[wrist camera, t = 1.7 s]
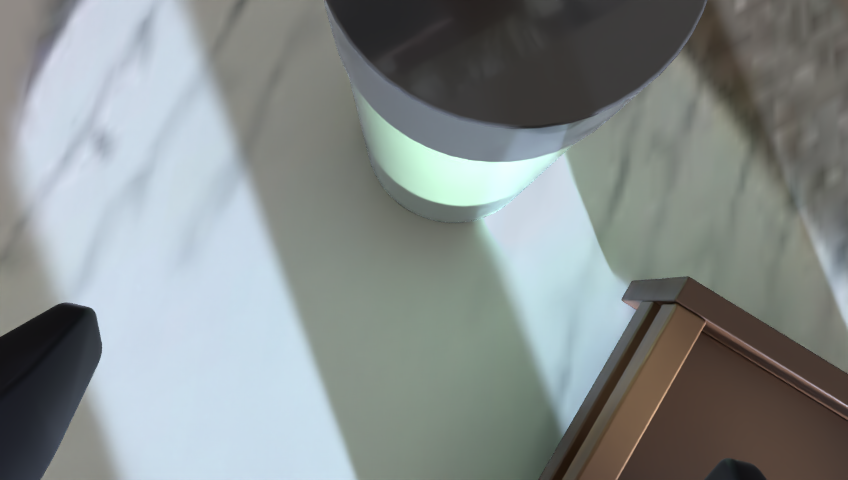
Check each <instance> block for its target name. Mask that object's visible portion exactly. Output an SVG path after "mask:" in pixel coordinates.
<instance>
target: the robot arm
mask: <svg viewBox="0 0 848 480" xmlns="http://www.w3.org/2000/svg"><path fill="white" fill-rule="evenodd" d="M101 353H102V342H101V337H100V332H99V327H98V322H97V317H96V313H95V312H94V310H93V309H92V308H89V307H85V306H81V305H77V304H73V303H61V304H58V305H56V306H54V307H52V308H51V309H49V310H47V311H45V312H44V313H42V314H40V315H38V316H37V317H35V318H33V319H31V320H30V321H28V322H26V323H24V324H22V325H21V326H19V327H17V328H15V329H14V330H12V331H10V332H8V333H7V334H5V335H3V336H1V337H0V480H40V479H41V478H42V476H43V474H44V473H45V471H46V469H47V467H48V466H49V464H50V462H51V461H52V459H53V457H54V455H55V453H56V451H57V449H58V447H59V445H60V443H61V441H62V439H63V437H64V434H65V432H66V430H67V428H68V426H69V424H70V422H71V420H72V418H73V416H74V413H75V411H76V409H77V407H78V405H79V403H80V401H81V399H82V397H83V394H84V392H85V390H86V388H87V386H88V384H89V382H90V380H91V378H92V376H93V373H94V371H95V369H96V367H97V365H98V363H99V360H100V357H101ZM704 480H767V479H766V478H765V476H764V475H763V473H762V472H761V471H760V470H759V469H758V468H757V467H756V466H755V465H753V464H751V463H748V462H744V461H740V460H736V459H731V458H725V459H723V460H721V461H720V462H719V463H718V464H717V465H716V466H715V468H714V469H713V470H712V471H711V472H710V473H709V474H708V476H707V477H706V478H705V479H704Z"/></svg>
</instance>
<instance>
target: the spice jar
mask: <svg viewBox="0 0 848 480" xmlns="http://www.w3.org/2000/svg"><path fill="white" fill-rule="evenodd" d="M706 3H707V0H324V4H325V8H326V11H327V15H328V19H329V23H330V26H331V30H332V34H333V37H334V40H335V44H336V47H337V50H338V53H339V56H340V58H341V60H342V63H343V65H344V67H345V69H346V71H347V74H348V76H349V80H350V84H351V88H352V92H353V96H354V100H355V104H356V108H357V112H358V116H359V120H360V124H361V128H362V132H363V136H364V140H365V144H366V148H367V152H368V156H369V159H370V162H371V166H372V168H373V170H374V173H375V175H376V177H377V179H378V180H379V182H380V183H381V185H382V186H383V188H384V189H385V190H386V191H387V193H388V194H389V195H390V196H391V197H392V198H393V199H394V200H395V201H396V202H398V203H399V204H400V205H402V206H403V207H404V208H406V209H407V210H409V211H411V212H413V213H415V214H417V215H419V216H421V217H424V218H427V219H430V220H434V221H439V222H448V223H462V222H468V221H474V220H477V219H481V218H484V217H486V216H489V215H491V214H493V213H495V212H497V211H498V210H500V209H502V208H503V207H505V206H506V205H507V204H508V203H510V202H511V201H512V200H513V199H514V198H515V197H517V196H518V195H519V194H520V193H521V192H522V191H523V190H524V189H525V188H526V187H528V186H529V185H530V184H531V183H532V182H533V181H534V180H535V179H536V178H537V177H538V176H540V175H541V174H542V173H543V172H544V171H545V170H546V169H547V168H548V167H549V166H551V165H552V164H553V163H554V162H555V161H556V160H557V159H558V158H559V157H560V156H562V155H563V154H564V153H565V152H566V151H567V150H568V149H569V148H570V147H571V146H572V145H574V144H575V143H577V142H578V141H580V140H582V139H583V138H585V137H586V136H588V135H590V134H591V133H593V132H594V131H595V130H597V129H598V128H599V127H600V126H602V125H603V124H604V123H605V122H606V121H608V120H609V119H610V118H611V117H612V116H613V115H615V114H616V113H617V112H618V111H619V110H620V109H621V108H623V107H624V106H625V105H626V104H627V103H628V102H629V101H631V100H632V99H633V98H634V97H635V96H636V95H637V94H639V93H640V92H641V91H642V90H643V89H644V88H645V87H647V86H648V85H649V84H650V83H651V82H652V81H653V80H654V79H656V78H657V77H658V76H659V75H660V74H661V73H662V72H663V71H664V70H665V69H666V68H667V66H668V65H669V64H670V63H671V62H672V61H673V60H674V59H675V58H676V57H677V55H678V54H679V53H680V51H681V50H682V48H683V47H684V45H685V44H686V42H687V41H688V40H689V38H690V37H691V35H692V33H693V31H694V30H695V28H696V26H697V24H698V22H699V20H700V18H701V16H702V14H703V12H704V9H705V6H706Z"/></svg>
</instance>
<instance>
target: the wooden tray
mask: <svg viewBox="0 0 848 480" xmlns="http://www.w3.org/2000/svg"><path fill="white" fill-rule="evenodd" d="M622 301H623V302H625V303H626V304H628V305H630V306H631V307H633V308H634V309H636V312H635V314H634V315H633V317H632V319H631V321H630V322H629V324H628V326H627V327H626V329H625V331H624V333H623V334H622V336H621V338H620V340H619V341H618V343H617V345H616V346H615V348H614V350H613V352H612V353H611V355H610V357H609V359H608V360H607V362H606V364H605V365H604V367H603V369H602V371H601V372H600V374H599V376H598V377H597V379H596V381H595V383H594V384H593V386H592V388H591V390H590V391H589V393H588V395H587V396H586V398H585V400H584V402H583V403H582V405H581V407H580V409H579V410H578V412H577V414H576V415H575V417H574V419H573V421H572V422H571V424H570V426H569V428H568V429H567V431H566V433H565V434H564V436H563V438H562V440H561V441H560V443H559V445H558V447H557V448H556V450H555V452H554V453H553V455H552V457H551V459H550V460H549V462H548V464H547V466H546V467H545V469H544V471H543V472H542V474H541V476H540V478H539V479H538V480H704V479H705V478H706V477H707V476H708V474H709V473H710V472H711V471H712V470H713V469H714V468H715V466H716V465H717V464H718V463H719V462H720V461H721V460H723V459H725V458H731V459H736V460H740V461H744V462H748V463H751V464H753V465H755V466H756V467H757V468H758V469H759V470H760V471H761V472H762V473H763V475H764V476H765V478H766V479H767V480H848V374H847V373H845V372H844V371H842V370H840V369H839V368H837V367H836V366H834V365H832V364H831V363H829V362H827V361H826V360H824V359H822V358H821V357H819V356H818V355H816V354H814V353H813V352H811V351H809V350H808V349H806V348H805V347H803V346H801V345H800V344H798V343H796V342H795V341H793V340H791V339H790V338H788V337H787V336H785V335H783V334H782V333H780V332H778V331H777V330H775V329H774V328H772V327H770V326H769V325H767V324H765V323H764V322H762V321H760V320H759V319H757V318H756V317H754V316H752V315H751V314H749V313H747V312H746V311H744V310H743V309H741V308H739V307H738V306H736V305H734V304H733V303H731V302H729V301H728V300H726V299H725V298H723V297H721V296H720V295H718V294H716V293H715V292H713V291H712V290H710V289H708V288H707V287H705V286H703V285H702V284H700V283H698V282H697V281H695V280H694V279H692V278H690V277H688V276H687V277H675V278H662V279H650V280H637V281H632V282H631V284H630V285H629V287H628V289H627V291H626V292H625V294H624V296H623V297H622Z"/></svg>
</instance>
